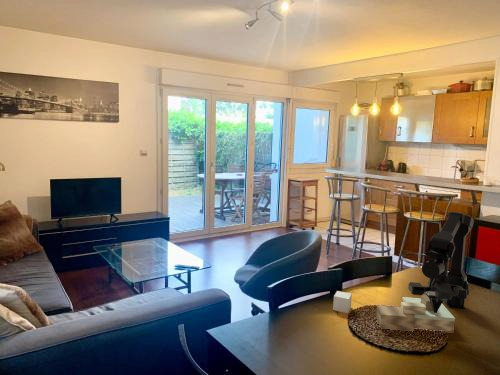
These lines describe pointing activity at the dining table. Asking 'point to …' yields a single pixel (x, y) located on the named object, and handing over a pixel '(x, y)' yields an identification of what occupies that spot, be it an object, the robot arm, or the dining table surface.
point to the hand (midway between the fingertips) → (434, 312)
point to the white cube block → (342, 302)
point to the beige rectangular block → (413, 308)
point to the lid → (430, 309)
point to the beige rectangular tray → (408, 320)
